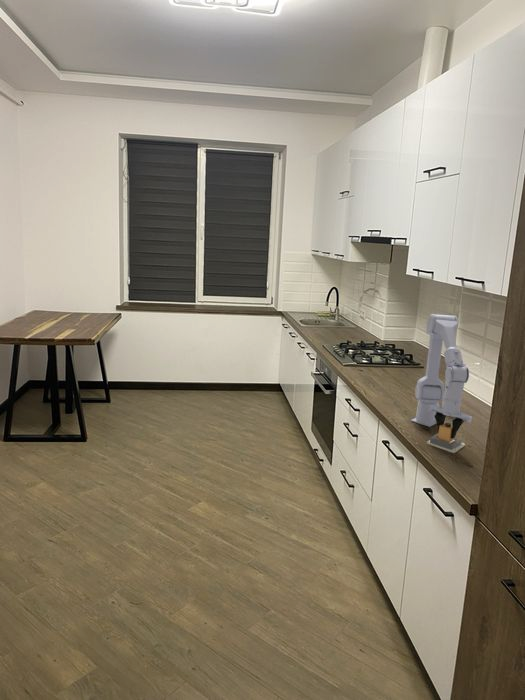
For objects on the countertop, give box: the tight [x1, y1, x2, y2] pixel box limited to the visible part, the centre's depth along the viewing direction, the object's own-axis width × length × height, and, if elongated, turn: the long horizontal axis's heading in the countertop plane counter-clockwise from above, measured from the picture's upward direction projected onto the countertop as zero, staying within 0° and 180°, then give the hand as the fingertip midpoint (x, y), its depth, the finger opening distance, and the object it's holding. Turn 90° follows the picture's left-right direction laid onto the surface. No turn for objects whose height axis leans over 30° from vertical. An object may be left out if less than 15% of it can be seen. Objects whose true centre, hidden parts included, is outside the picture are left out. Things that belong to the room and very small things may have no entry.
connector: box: [437, 422, 455, 442], centre depth 183 cm, size 7×4×6 cm, turn 138°
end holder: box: [426, 432, 466, 454], centre depth 183 cm, size 10×10×3 cm
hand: (446, 435), depth 182 cm, fingers closed on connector, 4 cm apart
